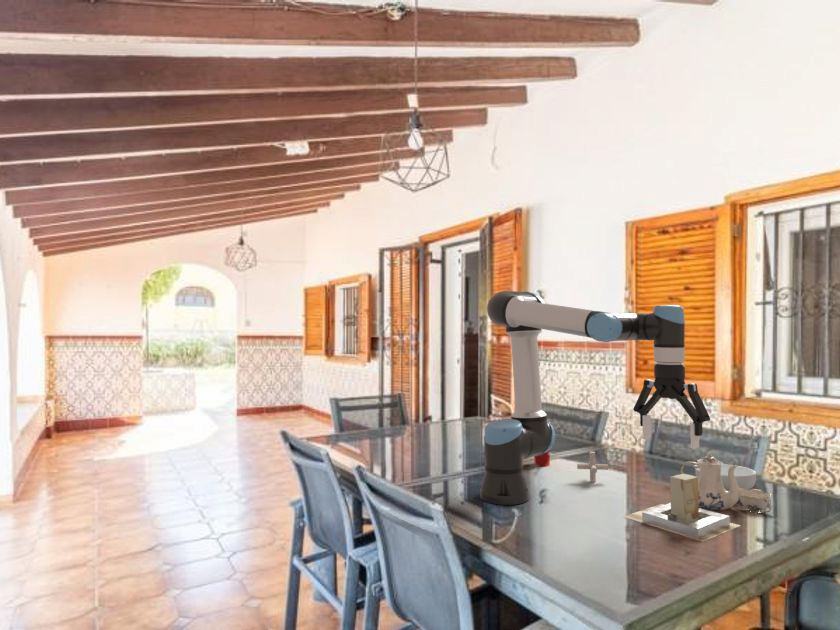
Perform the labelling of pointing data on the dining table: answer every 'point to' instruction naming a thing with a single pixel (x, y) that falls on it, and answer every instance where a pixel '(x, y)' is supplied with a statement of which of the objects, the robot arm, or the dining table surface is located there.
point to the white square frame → (698, 529)
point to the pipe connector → (592, 467)
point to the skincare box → (684, 497)
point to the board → (638, 517)
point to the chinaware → (715, 493)
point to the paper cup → (542, 459)
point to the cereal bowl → (736, 476)
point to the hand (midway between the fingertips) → (670, 443)
